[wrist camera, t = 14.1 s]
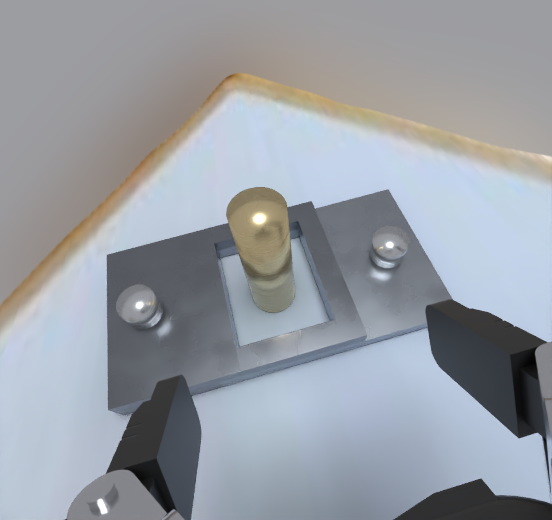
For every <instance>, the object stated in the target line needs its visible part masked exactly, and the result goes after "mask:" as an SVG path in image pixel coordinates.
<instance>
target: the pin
mask: <svg viewBox="0 0 552 520" xmlns="http://www.w3.org/2000/svg"><path fill="white" fill-rule="evenodd" d="M226 215H227V219H228V223H229V226H230V229H231V232H232V235H233V238H234V241H235V244H236V247H237V250H238V253H239V256H240V259H241V262H242V266H243V269H244V272H245V275H246V278H247V281H248V284H249V287H250V290H251V293H252V296H253V299H254V302H255V304H256V305H257V306H258V307H259V308H260V309H261V310H263V311H266V312H270V313H276V312H280V311H283V310H285V309H286V308H288V307H289V306H290V305H291V303H292V302H293V300H294V297H295V286H294V275H293V265H292V254H291V243H290V233H289V222H288V211H287V204H286V201H285V199H284V198H283V196H282V195H281V194H280V193H278V192H277V191H275V190H273V189H270V188H265V187H255V188H250V189H246V190H244V191H242V192H240V193H239V194H237V195H236V196H235V197H234V198H233V199H232V200H231V201H230V203H229V205H228V207H227V213H226Z"/></svg>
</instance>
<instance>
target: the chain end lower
mask: <svg viewBox="0 0 552 520" xmlns="http://www.w3.org/2000/svg"><path fill="white" fill-rule="evenodd" d="M315 211H316V213H317V215H318V218H319V220H320V223H321V225H322V227H323V230H324V232H325V235H326V237H327V239H328V242H329V244H330V246H331V249H332V251H333V254H334V256H335V258H336V261H337V263H338V266H339V268H340V270H341V273H342V275H343V278H344V280H345V282H346V285H347V287H348V290H349V292H350V294H351V297H352V299H353V301H354V304H355V306H356V309H357V311H358V313H359V316H360V318H361V321H362V323H363V325H364V328H365V330H366V333H367V338H366V341H362V342H359V343H356V344H352V345H349V346H345V347H342V348H338V349H335V350H331V351H328V352H324V353H321V354H318V355H314V356H311V357H307V358H304V359H300V360H297V361H293V362H290V363H287V364H283V365H280V366H276V367H273V368H269V369H266V370H262V371H259V372H255V373H252V374H249V375H245V376H242V377H238V378H235V379H231V380H228V381H224V382H221V384H222V385H223V386H227V385H230V384H234V383H237V382H241V381H244V380H247V379H251V378H254V377H258V376H261V375H265V374H268V373H272V372H275V371H278V370H282V369H285V368H289V367H292V366H296V365H299V364H303V363H306V362H309V361H313V360H316V359H320V358H323V357H327V356H330V355H334V354H337V353H340V352H344V351H347V350H351V349H354V348H358V347H361V346H365V345H368V344H371V343H375V342H378V341H382V340H385V339H389V338H392V337H396V336H399V335H402V334H406V333H409V332H413V331H416V330H420V329H423V328H427V327H428V326H427V320H426V313H425V310H426V306H427V305H430V304H433V303H437V302H440V301H444V300H448V299H452V297H451V296H450V294H449V292H448V291H447V289H446V287H445V286H444V284H443V282H442V280H441V279H440V277H439V275H438V274H437V272H436V270H435V268H434V267H433V265H432V263H431V262H430V260H429V258H428V256H427V255H426V253H425V251H424V250H423V248H422V246H421V245H420V243H419V241H418V239H417V238H416V236H415V234H414V233H413V231H412V229H411V227H410V226H409V224H408V222H407V221H406V219H405V217H404V215H403V214H402V212H401V210H400V209H399V207H398V205H397V204H396V202H395V200H394V198H393V197H392V195H391V193H390V192H389V190H384V191H380V192H377V193H373V194H369V195H365V196H362V197H358V198H354V199H350V200H346V201H343V202H339V203H335V204H331V205H328V206H324V207H320V208H316V209H315ZM289 233H290V239H293V238H297V237H300V240H301V243H302V246H303V248H304V251H305V254H306V256H307V259H308V262H309V265H310V267H311V270H312V273H313V275H314V278H315V281H316V284H317V286H318V289H319V292H320V294H321V297H322V300H323V303H324V305H325V308H326V311H327V314H328V316H329V319H330V321H332V317H331V314H330V311H329V309H328V306H327V303H326V301H325V298H324V295H323V293H322V290H321V287H320V285H319V282H318V279H317V277H316V274H315V271H314V268H313V266H312V263H311V260H310V258H309V255H308V252H307V250H306V247H305V244H304V242H303V239H302V236H301V234H300V231H299V229H297V230H294V231H290V232H289ZM237 253H238V250H237V247H236V246H234V247H230V248H226V249H223V250H219V251H218V256H219V261H220V266H221V270H222V275H223V280H224V285H225V290H226V294H227V299H228V304H229V309H230V313H231V318H232V323H233V328H234V333H235V337H236V342H237V347H239V343H238V339H237V334H236V329H235V325H234V320H233V315H232V310H231V306H230V301H229V296H228V292H227V287H226V282H225V277H224V273H223V268H222V263H221V259H220V258H222V257H226V256H230V255H233V254H237ZM452 300H453V299H452Z"/></svg>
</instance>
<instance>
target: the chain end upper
mask: <svg viewBox="0 0 552 520" xmlns="http://www.w3.org/2000/svg"><path fill="white" fill-rule="evenodd" d="M287 211H288V222H289V232H290V231H294V230H297V229H299V231H300V234H301V236H302V239H303V242H304V244H305V247H306V250H307V252H308V255H309V258H310V260H311V263H312V266H313V268H314V271H315V274H316V277H317V279H318V282H319V285H320V287H321V290H322V293H323V295H324V298H325V301H326V303H327V306H328V309H329V311H330V314H331V317H332V321H328V322H325V323H321V324H318V325H314V326H311V327H307V328H304V329H300V330H297V331H293V332H290V333H286V334H283V335H279V336H276V337H272V338H269V339H265V340H262V341H258V342H255V343H251V344H248V345H244V346H241V347H237V342H236V337H235V333H234V328H233V323H232V318H231V313H230V309H229V304H228V299H227V294H226V290H225V285H224V280H223V275H222V270H221V266H220V261H219V256H218V251H219V250H223V249H226V248H230V247H234V246H236V244H235V241H234V238H233V235H232V232H231V229H230V226H229V223H227V224H223V225H219V226H215V227H211V228H208V229H204V230H200V231H196V232H192V233H189V234H185V235H181V236H177V237H173V238H169V239H166V240H162V241H158V242H154V243H150V244H147V245H143V246H139V247H135V248H131V249H128V250H124V251H120V252H116V253H112V254H109V255H107V330H108V410H110V411H113V412H116V413H119V414H122V415H127V414H130V413H134V412H135V411H136V410H137V408H138V407H139V406H140V405H141V404H142V403H143V402H145V401H149V400H150V399H151V397H152V394H153V392H154V389H155V386H156V384H157V382H158V381H160V380H164V379H167V378H171V377H174V376H178V375H183V376H184V378H185V380H186V382H187V385H188V388H189V391H190V394H191V396H192V395H196V394H199V393H203V392H206V391H210V390H213V389H216V388H220V387H223V385H222V384H221V382H224V381H228V380H231V379H235V378H238V377H242V376H245V375H249V374H252V373H255V372H259V371H262V370H266V369H269V368H273V367H276V366H280V365H283V364H287V363H290V362H293V361H297V360H300V359H304V358H307V357H311V356H314V355H318V354H321V353H324V352H328V351H331V350H335V349H338V348H342V347H345V346H349V345H352V344H356V343H359V342H362V341H366V338H367V333H366V330H365V328H364V325H363V323H362V321H361V318H360V316H359V313H358V311H357V309H356V306H355V304H354V301H353V299H352V297H351V294H350V292H349V290H348V287H347V285H346V282H345V280H344V278H343V275H342V273H341V270H340V268H339V266H338V263H337V261H336V258H335V256H334V254H333V251H332V249H331V246H330V244H329V242H328V239H327V237H326V235H325V232H324V230H323V227H322V225H321V223H320V220H319V218H318V215H317V213H316V211H315V208H314V206H313V203H312V201H310V202H306V203H303V204H299V205H295V206H291V207H287Z"/></svg>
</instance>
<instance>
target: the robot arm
mask: <svg viewBox="0 0 552 520" xmlns="http://www.w3.org/2000/svg"><path fill="white" fill-rule="evenodd" d="M425 313H426V320H427V326H428V332H429V339H430V345H431V351H432V354H433V356H434V359H435V361H436V362H437V364H438V365H439V367H440V368H441V369H442V370H443V371H444V372H446V373H447V374H448V375H449V376H450V377H451V378H452V379H453V380H454V381H456V382H457V383H458V384H459V385H460V386H461V387H462V388H463V389H464V390H466V391H467V392H468V393H469V394H470V395H471V396H472V397H473V398H474V399H476V400H477V401H478V402H479V403H480V404H481V405H482V406H483V407H484V408H486V409H487V410H488V411H489V412H490V413H491V414H492V415H493V416H494V417H496V418H497V419H498V420H499V421H500V422H501V423H502V424H503V425H504V426H506V427H507V428H508V429H509V430H510V431H511V432H512V433H513V434H514V435H516V436H517V437H518V438H521V437H525V436H528V435H531V434H534V433H537V432H538V433H539V434H540V435H541V436H542V441H543V451H544V458H545V465H546V473H547V480H548V487H549V494H550V501H551V504H550V503H547V502H544V501H540V500H536V499H531V498H526V497H519V496H506V495H496V496H495V495H494V493H493V492H492V491H491V490H490V489H489V487H488V486H487V485H486V484H485V483H484V481H483V480H482V479H478V480H475V481H472V482H468V483H465V484H462V485H459V486H456V487H453V488H449V489H446V490H443V491H440V492H437V493H434V494H432V495H431V496H429V497H427V498H426V499H424V500H423V501H421V502H420V503H418V504H417V505H415V506H414V507H412V508H411V509H409V510H408V511H406V512H405V513H403V514H402V515H400V516H398V517H397V518H395V519H394V520H552V342H546V341H544V340H542V339H540V338H538V337H536V336H534V335H532V334H530V333H528V332H526V331H524V330H522V329H520V328H518V327H516V326H515V327H514V326H513V325H512V324H510V323H509V322H507V321H503V320H502V319H501V318H499V317H497V316H495V315H493V314H491V313H489V312H485V311H480V310H476V309H469V308H467V307H465V306H463V305H461V304H460V303H458V302H456V301H454V300H452V299H448V300H444V301H440V302H437V303H433V304H430V305H427V306H426V310H425ZM126 428H127V430H125V431H124V434H123V436H122V441H120V443H119V445H118V447H117V450H116V452H115V454H114V456H113V459H112V461H111V463H110V466H109V468H108V470H107V472H106V474H105V475H103V476H101V477H99V478H97V479H96V480H94V481H93V482H92V483H90V484H89V485H88V486H87V487H85V488H84V489H83V490H82V491H81V492H80V493H79V494H78V495H77V497H76V498H75V499H74V501H73V502H72V504H71V506H70V508H69V510H68V514H67V519H65V520H191V514H192V506H193V498H194V491H195V483H196V475H197V467H198V459H199V452H200V444H201V426H200V421H199V417H198V414H197V411H196V408H195V405H194V402H193V399H192V396H191V394H190V391H189V388H188V385H187V382H186V380H185V378H184V376H183V375H178V376H174V377H171V378H167V379H164V380H160V381H158V382H157V384H156V386H155V389H154V392H153V394H152V397H151V399H150V400H149V401H145V402H143V403H142V404H141V405H140V406H139V407H138V408H137V410H136V411H135V412H134V413H133V414H132V416H131V418H130V420H129V422H128V425H127V427H126Z"/></svg>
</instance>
